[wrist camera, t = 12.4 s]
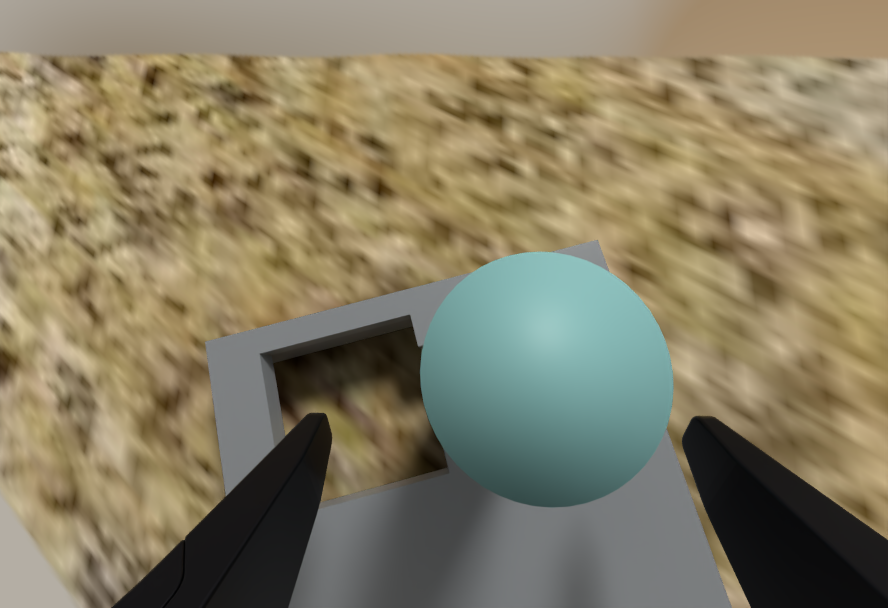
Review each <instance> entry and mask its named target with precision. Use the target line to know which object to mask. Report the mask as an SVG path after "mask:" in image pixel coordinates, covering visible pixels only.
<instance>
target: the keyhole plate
mask: <svg viewBox="0 0 888 608" xmlns="http://www.w3.org/2000/svg"><path fill="white" fill-rule="evenodd" d="M552 253H560V254H565V255H571V256H574V257H577V258H580V259H584V260H587V261H589V262H591V263H593V264H595V265H598V266H600V267H602V268H603V269H605V270H607V271H608V272H609V269H608V267H607V264H606V261H605V259H604V256H603V253H602V250H601V248H600V245H599V242H598V240H595V241H591V242H587V243H583V244H580V245H576V246H572V247H568V248H564V249H560V250H557V251H553V252H552ZM472 273H473V272H472ZM469 274H471V273H468V274H464V275H460V276H457V277H453V278H449V279H445V280H441V281H437V282H433V283H430V284H426V285H422V286H418V287H414V288H410V289H407V290H403V291H399V292H395V293H391V294H387V295H383V296H380V297H376V298H372V299H368V300H364V301H360V302H357V303H353V304H349V305H345V306H341V307H337V308H333V309H330V310H326V311H322V312H318V313H314V314H310V315H307V316H303V317H299V318H295V319H291V320H287V321H283V322H280V323H276V324H272V325H268V326H264V327H260V328H257V329H253V330H249V331H245V332H241V333H237V334H233V335H230V336H226V337H222V338H218V339H214V340H210V341H207V342H205V344H206V351H207V359H208V366H209V374H210V381H211V389H212V396H213V404H214V411H215V419H216V426H217V434H218V441H219V449H220V456H221V464H222V471H223V478H224V486H225V493H226V496H227V495H228V494H229V493H230V492H231V491H232V490H233V489H234V487H235V486H236V485H237V484H238V483H239V482H240V481H241V480H242V479H243V478H244V477H245V476H246V475H247V474H248V473H249V472H250V471H251V470H252V469H253V468H254V467H255V466H256V465H257V464H258V463H259V462H260V461H261V460H262V459H263V458H264V457H265V456H266V455H267V454H268V453H269V452H270V451H271V450H272V449H273V448H274V447H275V446H276V445H277V444H278V443H279V442H280V441H281V440H282V439H283V438H284V437H285V431H284V425H283V419H282V413H281V408H280V402H279V396H278V390H277V384H276V378H275V372H274V366H273V363H275V362H279V361H283V360H287V359H290V358H294V357H298V356H302V355H306V354H309V353H313V352H317V351H321V350H325V349H328V348H332V347H336V346H340V345H344V344H347V343H351V342H355V341H359V340H363V339H367V338H370V337H374V336H378V335H382V334H386V333H389V332H393V331H397V330H401V329H405V328H408V327H412V326H413V328H414V332H415V336H416V340H417V344H418V347H419V348H420V349H421V348H423V345H424V340H425V337H426V334H427V331H428V328H429V326H430V323H431V321H432V319H433V317H434V315H435V313H436V311H437V309H438V308H439V306H440V305H441V304H442V302H443V301H444V299H445V298H446V296H447V295H448V294H449V293H450V292H451V291H452V290H453V289H454V288H455V286H456V285H457V284H459V283H460V282H461V281H462V280H463V279H464V278H466V277H467V276H468V275H469ZM443 449H444V448H443ZM444 453H445V457H446V461H447V465H448V468H445V469H441V470H437V471H434V472H430V473H426V474H423V475H419V476H415V477H412V478H408V479H404V480H401V481H397V482H393V483H390V484H386V485H382V486H379V487H375V488H371V489H368V490H364V491H360V492H357V493H353V494H349V495H346V496H342V497H339V498H335V499H331V500H328V501H324V502H320V505H319V509H318V512H317V516H316V519H315V522H314V526H313V529H312V532H311V535H310V539H309V542H308V545H307V549H306V552H305V555H304V558H303V562H302V565H301V568H300V571H299V575H298V578H297V581H296V585H295V588H294V591H293V594H292V598H291V601H290V604H289V607H288V608H732V607H731V604H730V601H729V599H728V596H727V593H726V590H725V588H724V585H723V582H722V579H721V577H720V574H719V571H718V569H717V566H716V563H715V560H714V558H713V555H712V552H711V549H710V547H709V544H708V541H707V538H706V536H705V533H704V530H703V527H702V525H701V522H700V519H699V516H698V514H697V511H696V508H695V505H694V503H693V500H692V497H691V494H690V492H689V489H688V486H687V483H686V481H685V478H684V475H683V472H682V470H681V467H680V464H679V462H678V459H677V456H676V453H675V451H674V448H673V445H672V442H671V440H670V437H669V434H668V431H667V429H666V430H665V432H664V435H663V438H662V440H661V442H660V443H659V445H658V447H657V449H656V451H655V452H654V454H653V455H652V457H651V458H650V459H649V461H648V462H647V463H646V465H645V466H644V467H643V468H642V469H641V470H640V471H639V472H638V473H637V474H636V475H635V476H634V477H633V478H632V479H631V480H630V481H628V482H627V483H626V484H624V485H623V486H622V487H620V488H619V489H617V490H615V491H614V492H612V493H610V494H608V495H606V496H604V497H602V498H599V499H597V500H594V501H591V502H588V503H585V504H580V505H575V506H570V507H554V508H550V507H538V506H531V505H527V504H522V503H518V502H515V501H512V500H509V499H507V498H504V497H501V496H499V495H497V494H495V493H493V492H492V491H490V490H488V489H486V488H484V487H483V486H481V485H480V484H479V483H477V482H476V481H474V480H473V479H472V478H470V477H469V476H468V475H467V474H466V473H465V472H464V471H463V470H462V469H461V468H460V467H459V466H457V465H456V463H455V462H454V461H453V460H452V458H451V457H450V456H449V455H448V454H447V452H446V451H445V450H444Z"/></svg>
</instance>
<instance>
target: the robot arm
mask: <svg viewBox="0 0 888 608" xmlns="http://www.w3.org/2000/svg"><path fill="white" fill-rule="evenodd" d="M331 444H332V433H331V429H330V425H329V422H328V418H327V415H326V414H325V413H309V414H307V415H306V416H305V417H304V418H303V419H302V420H301V421H300V422H299V423H298V424H297V425H296V426H295V427H294V428H293V429H292V430H291V431H290V432H289V433H288V434H287V435H286V436H285V437H284V438H283V439H282V440H281V441H280V442H279V443H278V444H277V445H276V446H275V447H274V448H273V449H272V450H271V451H270V452H269V453H268V454H267V455H266V456H265V457H264V458H263V459H262V460H261V461H260V462H259V463H258V464H257V465H256V466H255V467H254V468H253V469H252V470H251V471H250V472H249V473H248V474H247V475H246V476H245V477H244V478H243V479H242V480H241V481H240V482H239V483H238V484H237V485H236V486H235V487H234V489H233V490H232V491H231V492H230V493H229V494H228V495H227V496H226V497H225V498H224V499H223V500H222V501H221V502H220V503H219V504H218V505H217V506H216V507H215V508H214V509H213V510H212V511H211V512H210V513H209V514H208V515H207V516H206V517H205V518H204V519H203V520H202V521H201V522H200V523H199V524H198V525H197V526H196V527H195V528H194V529H193V530H192V531H191V532H190V533H189V534H188V535H187V536H186V537H185V540H182V541H181V542H180V543H179V544H178V545H177V546H176V547H175V548H174V549H173V550H172V551H171V552H170V553H169V554H168V555H167V556H166V557H165V558H164V559H163V560H162V561H161V562H160V563H158V564H157V565H156V566H155V567H154V568H153V569H152V570H151V571H150V572H149V573H148V574H147V575H146V576H145V577H144V578H143V579H142V580H141V581H140V582H139V583H138V584H137V585H136V586H135V587H133V588H132V589H131V590H130V591H129V592H128V593H127V594H126V595H125V596H124V597H122V598H121V599H120V600H119V601H118V602H117V603H116V604H115V605H114V606H113V607H111V608H288V607H289V604H290V601H291V598H292V594H293V591H294V588H295V585H296V581H297V578H298V575H299V571H300V568H301V565H302V562H303V558H304V555H305V552H306V549H307V545H308V542H309V539H310V535H311V532H312V529H313V526H314V522H315V519H316V516H317V512H318V509H319V505H320V501H321V496H322V491H323V486H324V481H325V476H326V470H327V465H328V460H329V455H330V450H331ZM682 445H683V449H684V452H685V455H686V458H687V460H688V463H689V466H690V469H691V472H692V474H693V477H694V480H695V483H696V486H697V489H698V491H699V494H700V497H701V500H702V502H703V505H704V507H705V510H706V512H707V514H708V517H709V519H710V521H711V523H712V525H713V528H714V530H715V532H716V534H717V536H718V538H719V540H720V542H721V545H722V547H723V549H724V551H725V553H726V555H727V557H728V560H729V562H730V564H731V566H732V568H733V570H734V572H735V574H736V577H737V579H738V581H739V583H740V585H741V587H742V589H743V591H744V594H745V596H746V598H747V600H748V602H749V604H750V606H751V608H888V540H887V539H886V538H884V537H883V536H882V535H880V534H879V533H877V532H876V531H874V530H873V529H872V528H870V527H869V526H867V525H866V524H865V523H863V522H862V521H860V520H859V519H858V518H856V517H855V516H853V515H852V514H851V513H849V512H848V511H846V510H845V509H843V508H842V507H841V506H839V505H838V504H836V503H835V502H834V501H832V500H831V499H829V498H828V497H827V496H825V495H824V494H822V493H821V492H820V491H818V490H817V489H815V488H814V487H812V486H811V485H810V484H808V483H807V482H805V481H804V480H803V479H801V478H800V477H798V476H797V475H796V474H794V473H793V472H791V471H790V470H788V469H787V468H786V467H784V466H783V465H781V464H780V463H779V462H777V461H776V460H774V459H773V458H772V457H770V456H769V455H767V454H766V453H765V452H763V451H762V450H760V449H759V448H757V447H756V446H755V445H753V444H752V443H750V442H749V441H748V440H746V439H745V438H743V437H742V436H741V435H739V434H738V433H736V432H735V431H734V430H732V429H731V428H729V427H728V426H726V425H725V424H724V423H722V422H721V421H719V420H718V419H716V418H715V417H712V416H695V417H693V418H692V419H691V421H690V423H689V425H688V427H687V429H686V431H685V433H684V435H683V437H682Z"/></svg>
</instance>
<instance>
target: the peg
mask: <svg viewBox="0 0 888 608" xmlns="http://www.w3.org/2000/svg"><path fill="white" fill-rule="evenodd" d="M420 379H421V391H422V397H423V402H424V406H425V409H426V413H427V416H428V419H429V422H430V424H431V426H432V428H433V430H434V433H435V435H436V437H437V438H438V440H439V442H440V443H441V445H442V446H443V448H444V450H445V451H446V452H447V454H448V455H449V456H450V457H451V458H452V460H453V461H454V462H455V463H456V465H457V466H459V467H460V468H461V469H462V470H463V471H464V472H465V473H466V474H467V475H468V476H469V477H470V478H472V479H473V480H474V481H476V482H477V483H479V484H480V485H481V486H483V487H484V488H486V489H488V490H490V491H492V492H493V493H495V494H497V495H499V496H501V497H504V498H507V499H509V500H512V501H515V502H518V503H522V504H527V505H531V506H538V507H550V508H554V507H570V506H575V505H580V504H585V503H588V502H591V501H594V500H597V499H599V498H602V497H604V496H606V495H608V494H610V493H612V492H614V491H615V490H617V489H619V488H620V487H622V486H623V485H624V484H626V483H627V482H628V481H630V480H631V479H632V478H633V477H634V476H635V475H636V474H637V473H638V472H639V471H640V470H641V469H642V468H643V467H644V466H645V465H646V463H647V462H648V461H649V459H650V458H651V457H652V455H653V454H654V452H655V451H656V449H657V447H658V445H659V443H660V442H661V440H662V438H663V435H664V432H665V430H666V427H667V424H668V421H669V417H670V412H671V408H672V400H673V371H672V365H671V360H670V355H669V351H668V348H667V345H666V342H665V339H664V337H663V334H662V332H661V330H660V328H659V325H658V324H657V322H656V320H655V319H654V317H653V315H652V314H651V312H650V310H649V309H648V308H647V306H646V305H645V304H644V303H643V301H642V300H641V299H640V298H639V296H638V295H637V294H636V293H635V292H634V291H633V290H632V289H631V288H630V287H629V286H628V285H626V284H625V283H624V282H622V281H621V280H620V279H619V278H617V277H616V276H615V275H613V274H612V273H610V272H608V271H607V270H605V269H603V268H602V267H600V266H598V265H595V264H593V263H591V262H589V261H587V260H584V259H580V258H577V257H574V256H571V255H565V254H560V253H552V252H528V253H521V254H515V255H510V256H507V257H504V258H501V259H498V260H495V261H493V262H490V263H488V264H486V265H484V266H482V267H480V268H479V269H477V270H476V271H474V272H473V273H471V274H469V275H468V276H467V277H466V278H464V279H463V280H462V281H461V282H460V283H459V284H457V285H456V286H455V288H454V289H453V290H452V291H451V292H450V293H449V294H448V295H447V296H446V298H445V299H444V301H443V302H442V304H441V305H440V306H439V308H438V309H437V311H436V313H435V315H434V317H433V319H432V321H431V323H430V326H429V328H428V331H427V334H426V337H425V340H424V345H423V349H422V354H421V366H420Z"/></svg>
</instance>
